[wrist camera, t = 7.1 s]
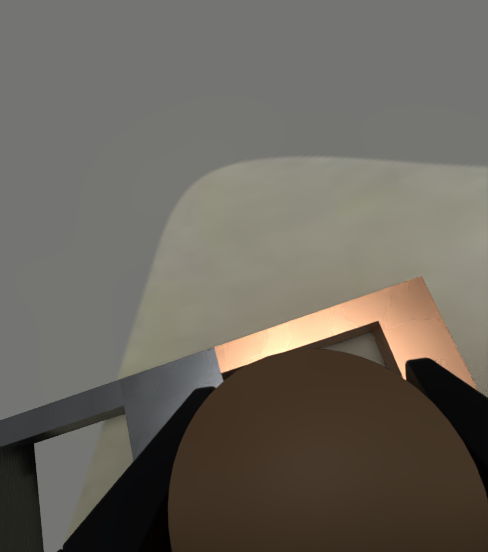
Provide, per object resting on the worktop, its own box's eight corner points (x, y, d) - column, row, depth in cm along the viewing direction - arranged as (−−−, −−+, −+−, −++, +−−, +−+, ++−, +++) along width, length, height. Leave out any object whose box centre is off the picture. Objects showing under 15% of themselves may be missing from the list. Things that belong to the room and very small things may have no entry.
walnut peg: (398, 474, 13) (571, 671, 4) (295, 503, 13) (209, 750, 4) (357, 368, 14) (404, 310, 5) (264, 398, 15) (143, 397, 5)
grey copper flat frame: (508, 503, 13) (545, 526, 11) (7, 639, 16) (-51, 682, 13) (409, 293, 16) (421, 276, 14) (-5, 433, 18) (-55, 439, 16)
